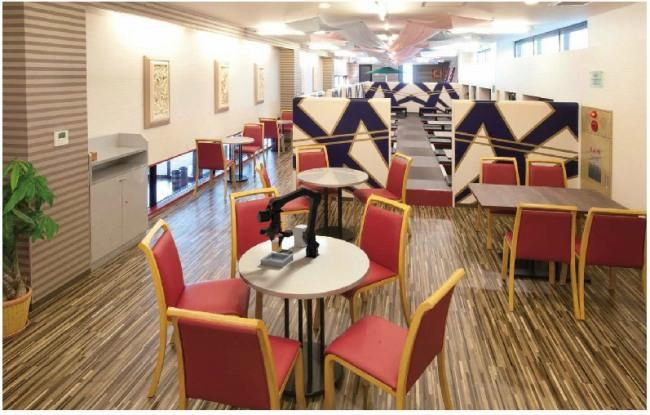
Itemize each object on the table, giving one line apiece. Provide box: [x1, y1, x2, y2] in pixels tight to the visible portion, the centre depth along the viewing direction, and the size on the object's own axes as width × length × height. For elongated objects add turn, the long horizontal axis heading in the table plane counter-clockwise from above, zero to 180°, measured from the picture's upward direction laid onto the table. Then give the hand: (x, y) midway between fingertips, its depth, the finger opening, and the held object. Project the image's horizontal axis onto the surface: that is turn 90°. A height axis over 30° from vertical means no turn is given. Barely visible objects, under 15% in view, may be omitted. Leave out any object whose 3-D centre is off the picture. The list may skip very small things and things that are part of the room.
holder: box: [275, 248, 293, 255], centre depth 314 cm, size 8×10×1 cm
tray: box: [260, 251, 294, 269], centre depth 300 cm, size 14×14×3 cm
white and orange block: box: [270, 237, 283, 253], centre depth 298 cm, size 4×6×6 cm, turn 158°
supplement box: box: [293, 223, 307, 248], centre depth 328 cm, size 7×7×13 cm
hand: (276, 246), depth 298 cm, fingers closed on white and orange block, 3 cm apart
